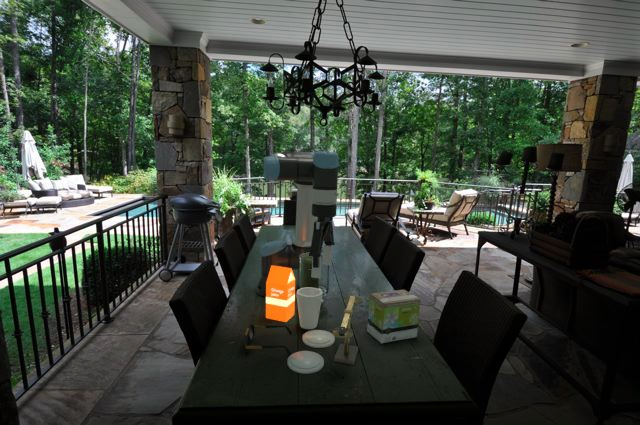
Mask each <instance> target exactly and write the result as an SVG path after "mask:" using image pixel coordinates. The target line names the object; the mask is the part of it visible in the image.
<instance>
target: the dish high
mask: <svg viewBox="0 0 640 425" xmlns="http://www.w3.org/2000/svg"><path fill="white" fill-rule="evenodd" d="M335 340H336V337H335V336H334V335H333V332H330V331H327V330H323V329H310V330H308V331H306V332H305V333H303V334H302V342H303V343H304V344H305V345H306V346H308V347H311V348H315V349H325V348H328V347H331V346H333V344H334V343H335Z"/></svg>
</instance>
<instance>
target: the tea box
mask: <svg viewBox="0 0 640 425" xmlns="http://www.w3.org/2000/svg"><path fill="white" fill-rule="evenodd" d="M368 304H369V305H368V314H367V315H368V318H367V328H366V329H367V330H366V331H367V332H368V333H369V334H370V335H371V336H372V337H373V338H374V339H375V340H376V341H378V342H379V343H380V344H385V343H391V342H396V341H402V340H408V339H414V338H415V339H416V338H417V337H418V329H419V319H420V318H419V317H420V307H421V298H419V297H418V296H416V295H415V294H413V293H412V292H409V291H407V290H406V289H398V290H397V289H396V290H389V291H388V290H387V291H380V292H373V293H370V295H369V303H368Z"/></svg>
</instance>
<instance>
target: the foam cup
mask: <svg viewBox="0 0 640 425" xmlns="http://www.w3.org/2000/svg"><path fill="white" fill-rule="evenodd" d="M323 293H324V292H323V290H321V289H320V288H317V287H311V286H310V287H307V286H306V287H300V288H299V289H297V291H296V296H295V299H296V301H297V311H298V318H299V326H300V328H302V329H304V330H315V329H317V327H318V323H319V322H318V321H319V318H320V311H321V310H320V309H321V305H322V304H321V303H322V300H323Z"/></svg>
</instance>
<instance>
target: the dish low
mask: <svg viewBox="0 0 640 425" xmlns="http://www.w3.org/2000/svg"><path fill="white" fill-rule="evenodd" d="M291 354H292V355H290V356H289V355H288V357H287V361H286V362H287V367H288V368H289V369H290V370H291V371H292V372H294V373H298V374H302V375H303V374H305V375H308V374H315V373H317V372H319V371H321V370H322V369H323V367H324V364H325V358H323V356H322V355H321V354H319V353H317V352H314V351H312V350H311V351H310V350H300V351H297V352H294V353H291Z"/></svg>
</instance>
